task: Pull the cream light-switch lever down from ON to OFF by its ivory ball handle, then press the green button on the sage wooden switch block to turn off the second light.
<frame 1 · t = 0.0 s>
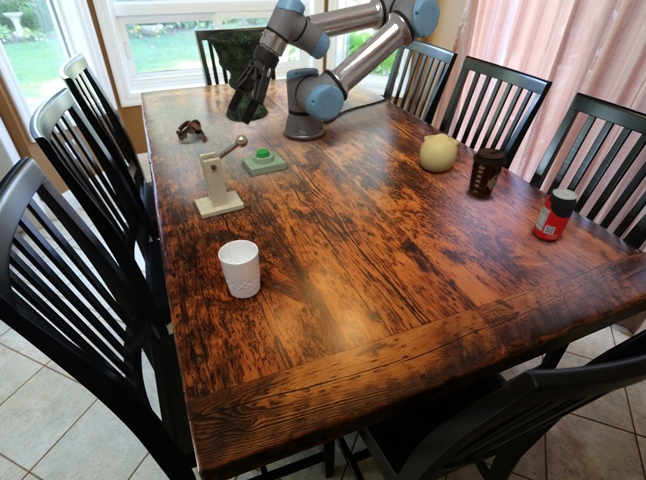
hand: (237, 116, 120), 15 cm above the table, tool tilted 35°, fingers open, 13 cm apart
goblet: (247, 114, 167), on the table
light button: (262, 153, 124), point 4 cm above the table, slide at 0.1 cm
button block: (264, 166, 127), on the table
white cup: (245, 288, 82), on the table
switch lever: (226, 151, 100), point 15 cm above the table, hinge at 25.0°
dark curved strip cluster: (194, 140, 145), on the table
beverage can: (545, 236, 96), on the table
coffee cup: (478, 195, 112), on the table
switch bracket: (219, 205, 108), on the table
sculpture: (434, 168, 126), on the table
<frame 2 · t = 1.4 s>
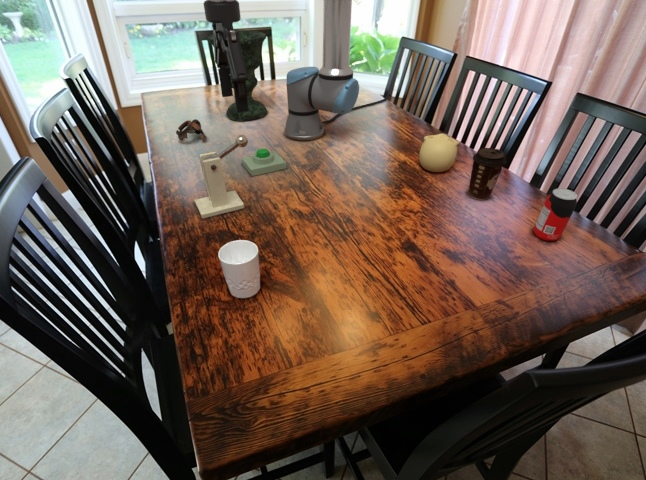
hand: (234, 103, 95), 27 cm above the table, tool pointing down, fingers open, 13 cm apart
nothing on the table moved.
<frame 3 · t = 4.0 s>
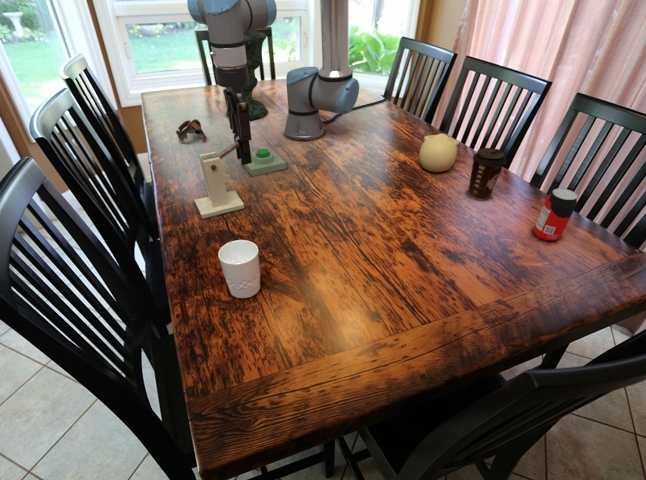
hand: (244, 160, 104), 12 cm above the table, tool pointing down, fingers closed on switch lever, 3 cm apart
switch lever: (226, 151, 100), point 15 cm above the table, hinge at 25.0°, touching gripper
everything else where it was.
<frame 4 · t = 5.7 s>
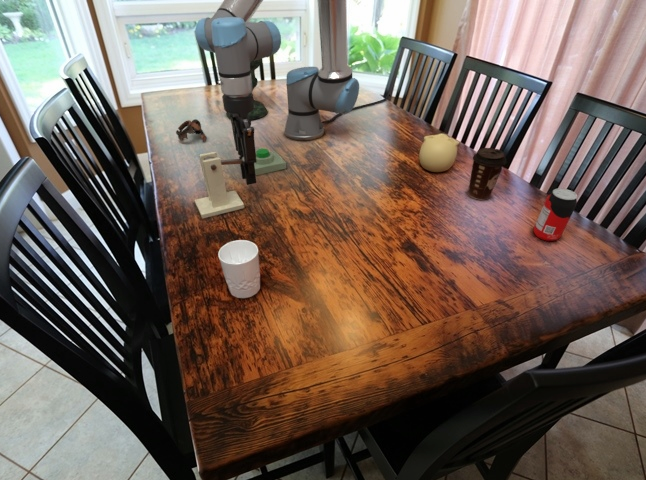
hand: (249, 180, 108), 6 cm above the table, tool pointing down, fingers closed on switch lever, 3 cm apart
switch lever: (229, 162, 102), point 12 cm above the table, hinge at -9.0°, touching gripper
everything else where it was.
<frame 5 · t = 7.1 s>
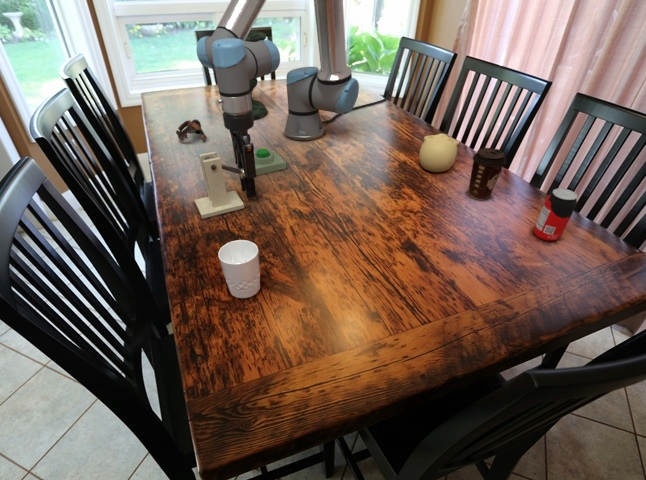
hand: (249, 193, 110), 2 cm above the table, tool pointing down, fingers open, 4 cm apart
switch lever: (228, 168, 103), point 10 cm above the table, hinge at -30.2°
everything else where it was.
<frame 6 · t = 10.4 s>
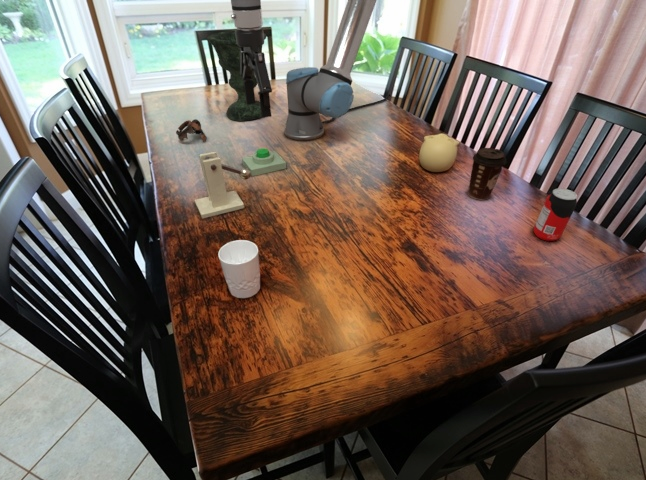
hand: (258, 109, 115), 18 cm above the table, tool pointing down, fingers open, 13 cm apart
nothing on the table moved.
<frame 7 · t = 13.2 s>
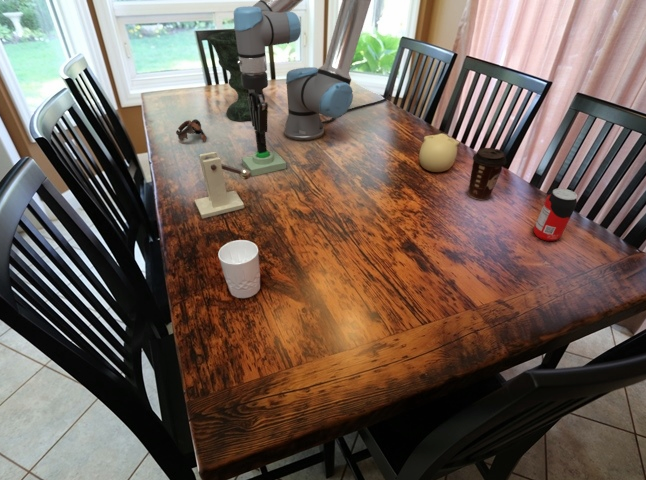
hand: (262, 151, 124), 5 cm above the table, tool pointing down, fingers closed
light button: (262, 154, 125), point 4 cm above the table, slide at -0.2 cm, touching gripper
everything else where it was.
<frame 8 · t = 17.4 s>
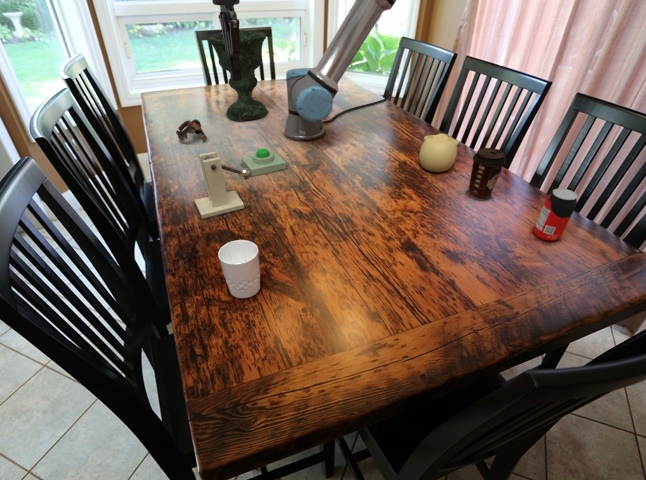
hand: (237, 79, 119), 24 cm above the table, tool pointing down, fingers closed
light button: (262, 153, 124), point 4 cm above the table, slide at 0.1 cm
everything else where it was.
at the end: switch lever at -30° (first picture: +25°); light button pushed in 1.0 cm at the most during the clip, back to where it started at the end; light button slide at 0.1 cm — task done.
